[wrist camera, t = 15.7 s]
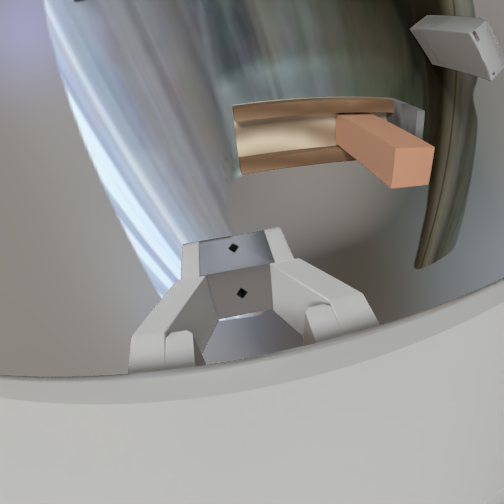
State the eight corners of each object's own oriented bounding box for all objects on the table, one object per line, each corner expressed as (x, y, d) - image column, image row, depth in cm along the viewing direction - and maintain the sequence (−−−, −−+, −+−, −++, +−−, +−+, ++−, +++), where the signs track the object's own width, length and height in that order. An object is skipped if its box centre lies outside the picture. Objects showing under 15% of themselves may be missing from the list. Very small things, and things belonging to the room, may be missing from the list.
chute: (231, 105, 38) (239, 117, 31) (392, 97, 40) (424, 110, 33) (239, 167, 44) (248, 192, 38) (389, 151, 46) (417, 172, 39)
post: (335, 113, 40) (395, 148, 28) (369, 112, 40) (434, 147, 28) (335, 143, 43) (390, 188, 31) (368, 141, 43) (428, 184, 31)
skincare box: (447, 50, 34) (509, 66, 22) (430, 65, 36) (493, 84, 25) (424, 12, 30) (489, 18, 18) (406, 27, 32) (471, 34, 20)
